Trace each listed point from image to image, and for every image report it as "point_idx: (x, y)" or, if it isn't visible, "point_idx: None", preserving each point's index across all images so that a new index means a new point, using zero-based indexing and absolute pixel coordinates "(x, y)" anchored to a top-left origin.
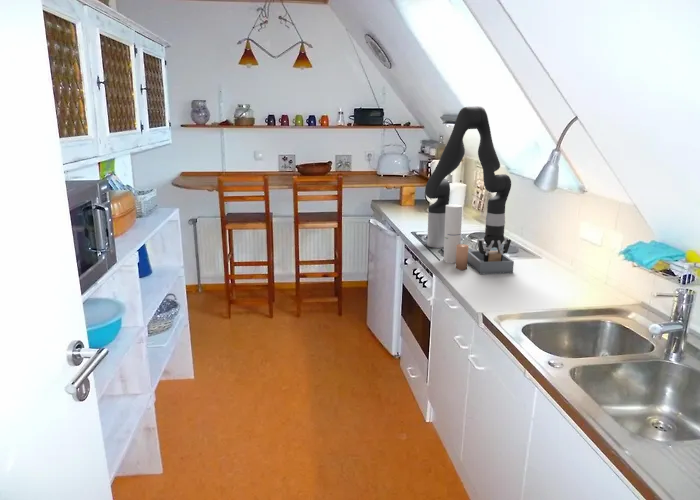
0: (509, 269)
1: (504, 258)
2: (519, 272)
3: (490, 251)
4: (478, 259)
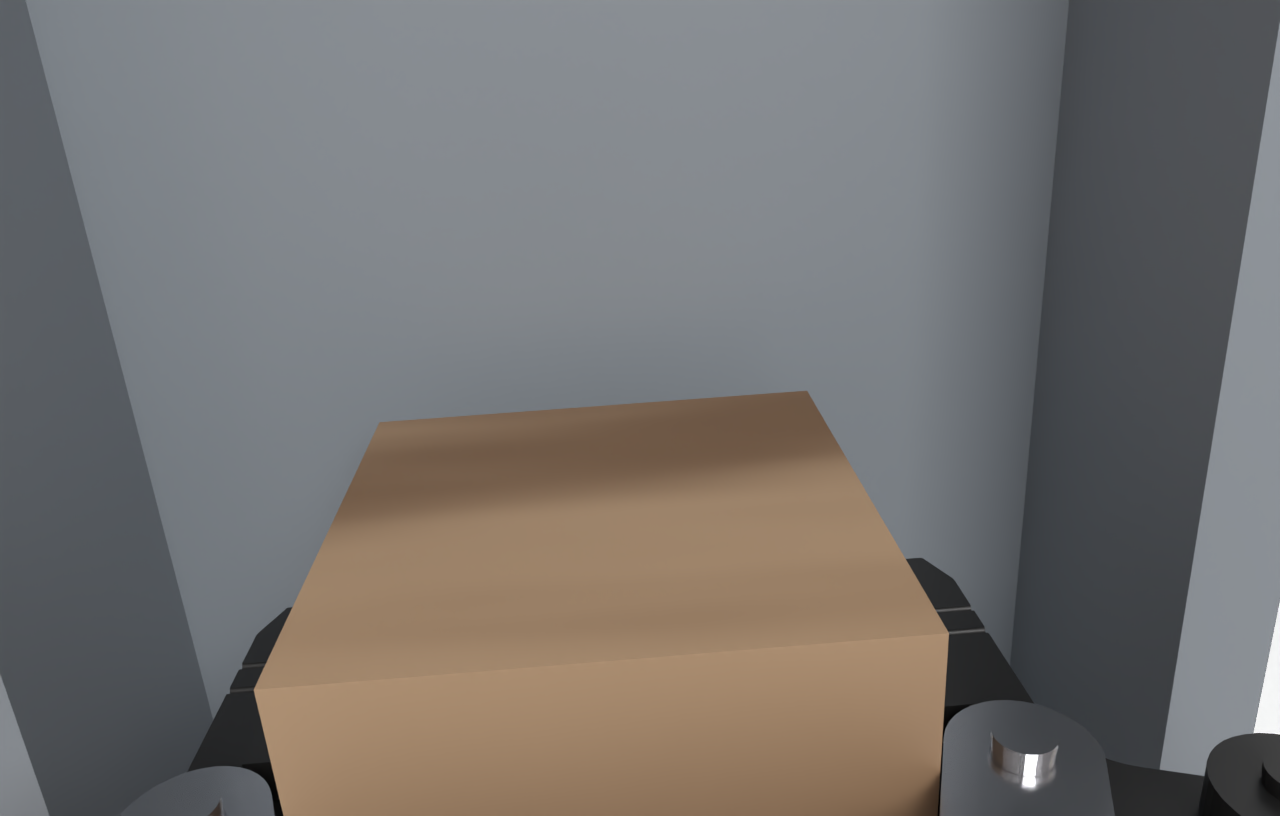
0: None
1: (1163, 434)
2: None
3: (535, 744)
4: (9, 793)
